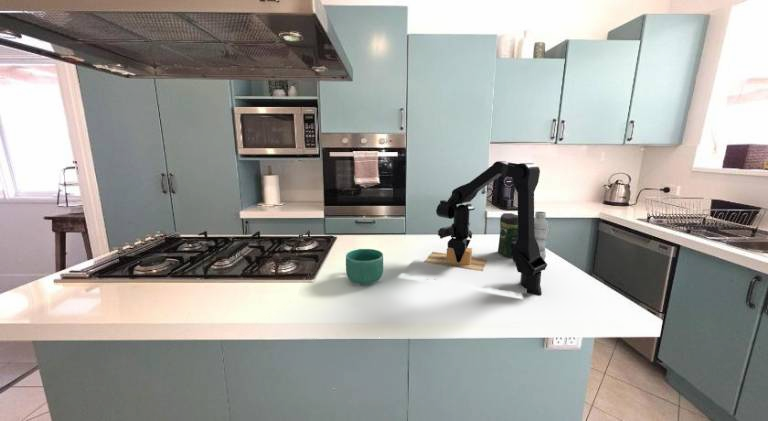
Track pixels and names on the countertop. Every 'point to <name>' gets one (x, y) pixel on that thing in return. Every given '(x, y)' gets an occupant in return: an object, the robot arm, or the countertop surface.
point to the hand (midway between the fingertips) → (459, 260)
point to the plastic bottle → (540, 231)
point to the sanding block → (465, 259)
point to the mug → (364, 266)
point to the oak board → (441, 260)
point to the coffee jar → (507, 233)
